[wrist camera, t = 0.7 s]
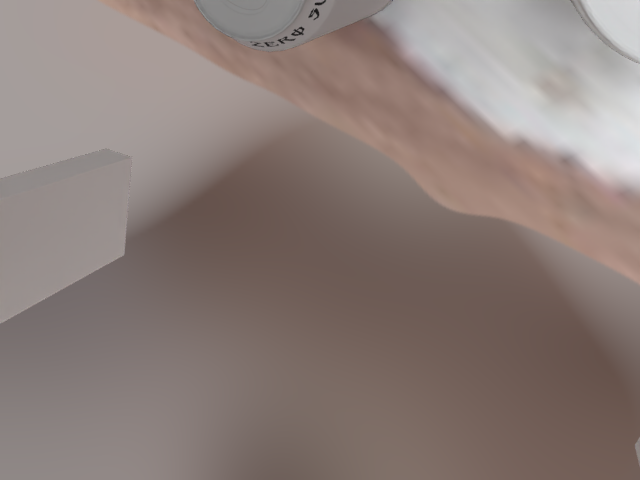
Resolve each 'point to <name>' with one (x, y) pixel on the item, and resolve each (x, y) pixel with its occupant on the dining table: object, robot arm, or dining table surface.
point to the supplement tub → (614, 23)
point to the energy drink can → (284, 19)
